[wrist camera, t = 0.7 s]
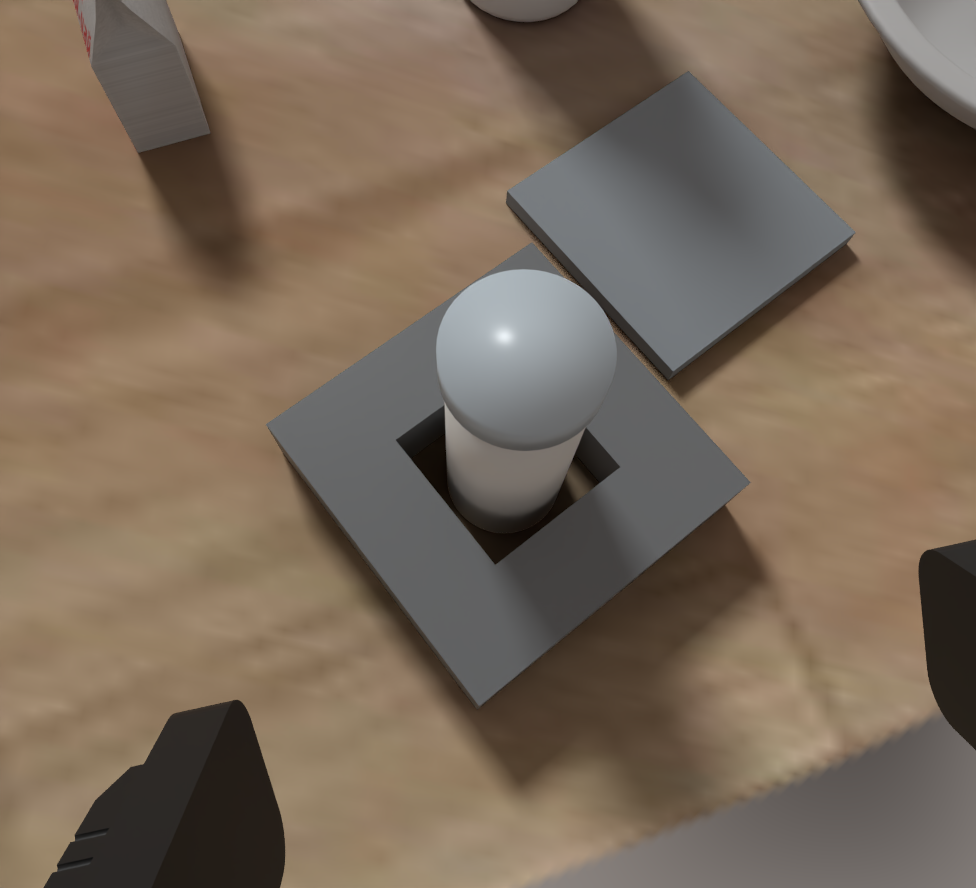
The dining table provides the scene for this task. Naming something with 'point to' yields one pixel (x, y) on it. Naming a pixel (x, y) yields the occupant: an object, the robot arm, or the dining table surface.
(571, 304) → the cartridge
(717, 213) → the mat
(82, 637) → the dining table surface
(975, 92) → the soup bowl
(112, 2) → the white paper packet
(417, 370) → the housing
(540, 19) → the milk bottle
